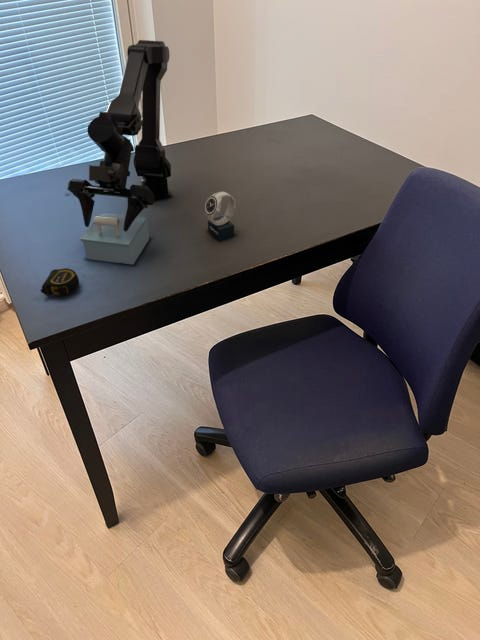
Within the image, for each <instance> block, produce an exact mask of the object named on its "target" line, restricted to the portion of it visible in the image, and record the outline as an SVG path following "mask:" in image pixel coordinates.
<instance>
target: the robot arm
mask: <svg viewBox="0 0 480 640" xmlns="http://www.w3.org/2000/svg"><path fill="white" fill-rule="evenodd" d="M126 51H127V52H126V53H127V60H126V64H125V68H124V71H123V75H122V80H121V83H120V87H119V90H118V94H117V96H116V97H114V98H113V99H112V100H111V101H110V102H109V105H108V108H107V109H106V111H99V113H98V116H97V117H95V118H93V119H92V120H91V121H90V122H89V124H88V125H87V135H88V137H89V138H90V139H91V141H93V143H94V144H95V145H96V146H97V147H98V148H99V149H100V150H101V151H102V152H103V153H104V155H103V160H100V162H99V165H88V180H87V179H81V178H71V179H70V180H69V181H68V183H67V188H66V190H67V191H68V192H70V193H71V194H72V195H73V196H74V197H75V198H77V199H78V201H79V205H80V208H81V212H82V218H83V223H84V226H85V227H86V228H90V225H91V220H92V216H93V211H94V208H95V207H94V206H95V199H93V198H94V197H96V195H97V196H107V197H115V198H116V197H117V198H125V199H127V209H126V212H125V216H126V217H125V221H124V231H127V230H128V229H129V227H130V226H131V224H132V223H133V221H134V220H135V218H136V217H139V215H140V213H142V211H143V210H144V209H148V207H149V206H154V203H155V201H158V200H161V199H166V198H170V197H171V196H172V194H171V193H170V192H169V185H168V178H170V177H172V165H171V163H170V161H169V159H168V158H167V157H166V150H165V148H164V146H163V144H162V142H161V140H160V137H161V135H160V133H161V131H160V129H161V85H162V83H161V82H162V79H163V78H164V76H165V75H166V73H167V71H168V63H169V61H170V55H171V53H170V49H169V47H168V46H166V44H165V42H164V41H163V40H148V39H139V40H138V41H137V43H135V44H130V45H129V46H128V47H127V50H126ZM140 101H141V111H140V109H139V106H140ZM140 131H141V139H140V141H139V142H138V144H135V147H134V145H133V143H132V141H131V139H129V138H128V137H129V136H130V137H131V136H132V137H135V136H137V135H139V132H140ZM126 136H128V137H126ZM133 152H134V156H133V167H134V169H135V172H136V175H137V177H141V178H142V179H141V180H140V183H141V185H140V184H131V185H130V187H129V188H127V182H128V177H131V171H130V163H131V157H132V153H133ZM89 181H90V182H89ZM92 181H93V182H94V183H95V184H97V185H92V183H91V182H92Z"/></svg>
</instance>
